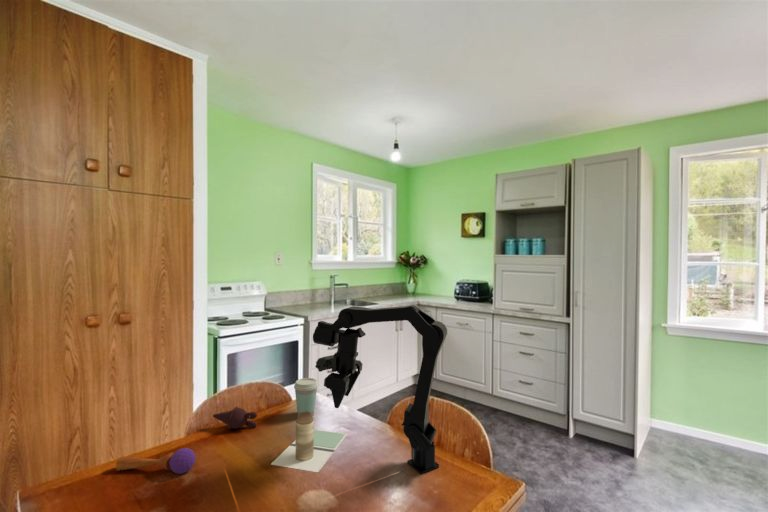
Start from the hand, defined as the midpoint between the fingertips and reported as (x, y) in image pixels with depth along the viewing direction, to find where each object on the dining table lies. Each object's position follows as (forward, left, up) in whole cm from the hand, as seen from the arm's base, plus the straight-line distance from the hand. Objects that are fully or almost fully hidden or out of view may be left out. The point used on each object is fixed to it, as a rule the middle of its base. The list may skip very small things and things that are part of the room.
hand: (341, 401), depth 109 cm
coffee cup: (+29, 0, -15) cm, 33 cm away
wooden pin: (+2, +11, -14) cm, 18 cm away
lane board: (+5, +7, -14) cm, 17 cm away
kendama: (+16, +46, -15) cm, 51 cm away
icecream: (+31, +24, -15) cm, 42 cm away
